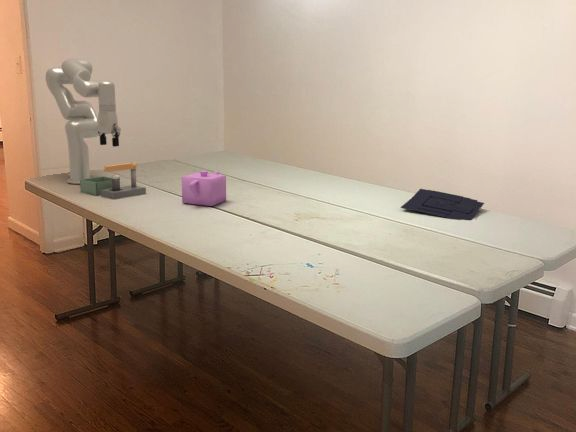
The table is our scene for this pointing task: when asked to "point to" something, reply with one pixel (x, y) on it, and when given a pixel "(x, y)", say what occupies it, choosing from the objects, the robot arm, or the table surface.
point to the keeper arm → (120, 167)
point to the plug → (115, 182)
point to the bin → (95, 185)
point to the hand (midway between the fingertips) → (109, 145)
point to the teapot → (204, 188)
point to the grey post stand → (125, 189)
